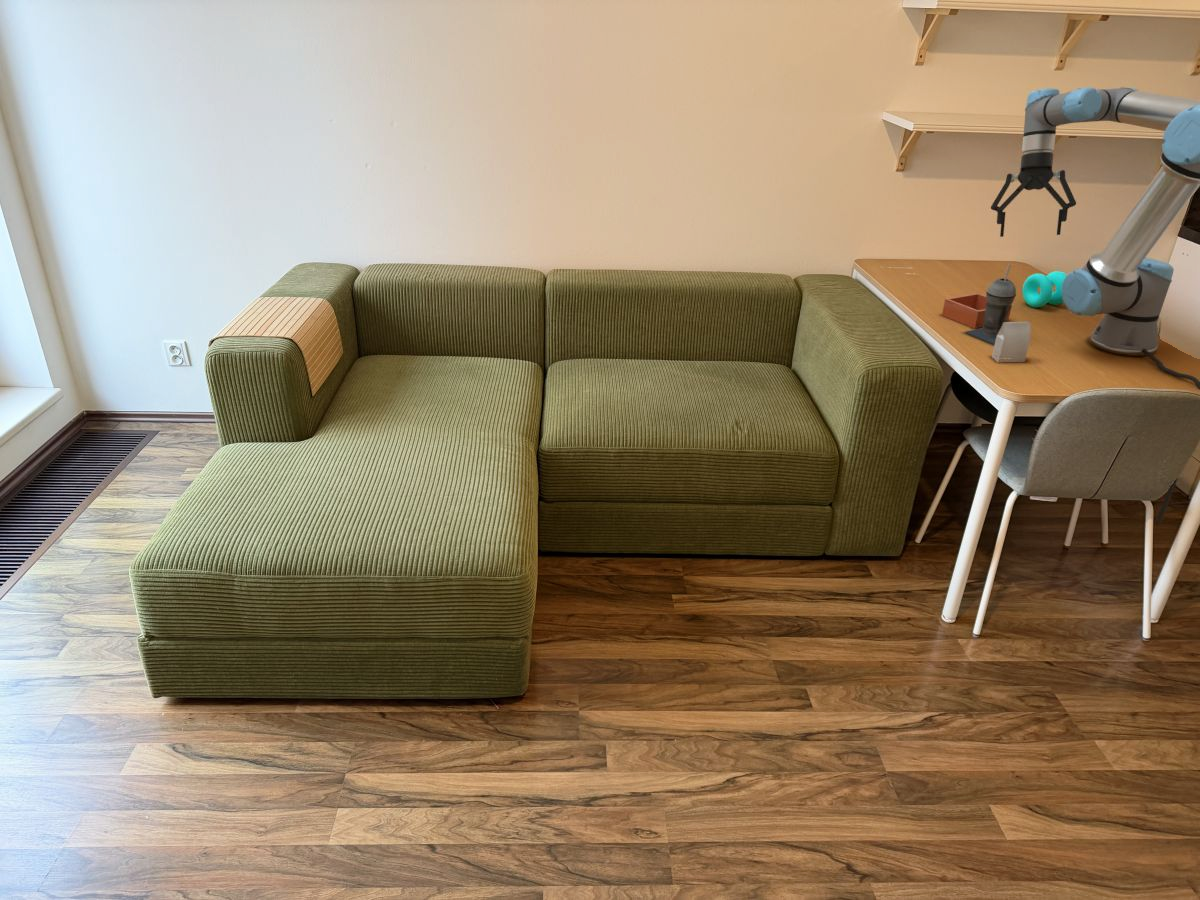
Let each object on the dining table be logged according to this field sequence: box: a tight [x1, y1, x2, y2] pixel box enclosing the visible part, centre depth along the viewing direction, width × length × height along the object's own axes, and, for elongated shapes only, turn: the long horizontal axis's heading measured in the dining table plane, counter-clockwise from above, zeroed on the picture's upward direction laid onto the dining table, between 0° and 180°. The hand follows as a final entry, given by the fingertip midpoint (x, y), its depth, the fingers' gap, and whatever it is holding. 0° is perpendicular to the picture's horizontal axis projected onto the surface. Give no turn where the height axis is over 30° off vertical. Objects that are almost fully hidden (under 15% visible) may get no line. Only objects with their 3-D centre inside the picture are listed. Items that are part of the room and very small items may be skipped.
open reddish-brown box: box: [941, 292, 1013, 329], centre depth 231 cm, size 13×13×5 cm
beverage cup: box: [982, 263, 1017, 338], centre depth 215 cm, size 7×7×20 cm
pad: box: [965, 327, 996, 346], centre depth 219 cm, size 10×9×1 cm
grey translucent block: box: [991, 321, 1032, 363], centre depth 203 cm, size 4×7×10 cm, turn 91°
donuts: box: [1021, 270, 1068, 308], centre depth 239 cm, size 10×10×10 cm
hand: (1029, 235), depth 217 cm, fingers open, 13 cm apart
